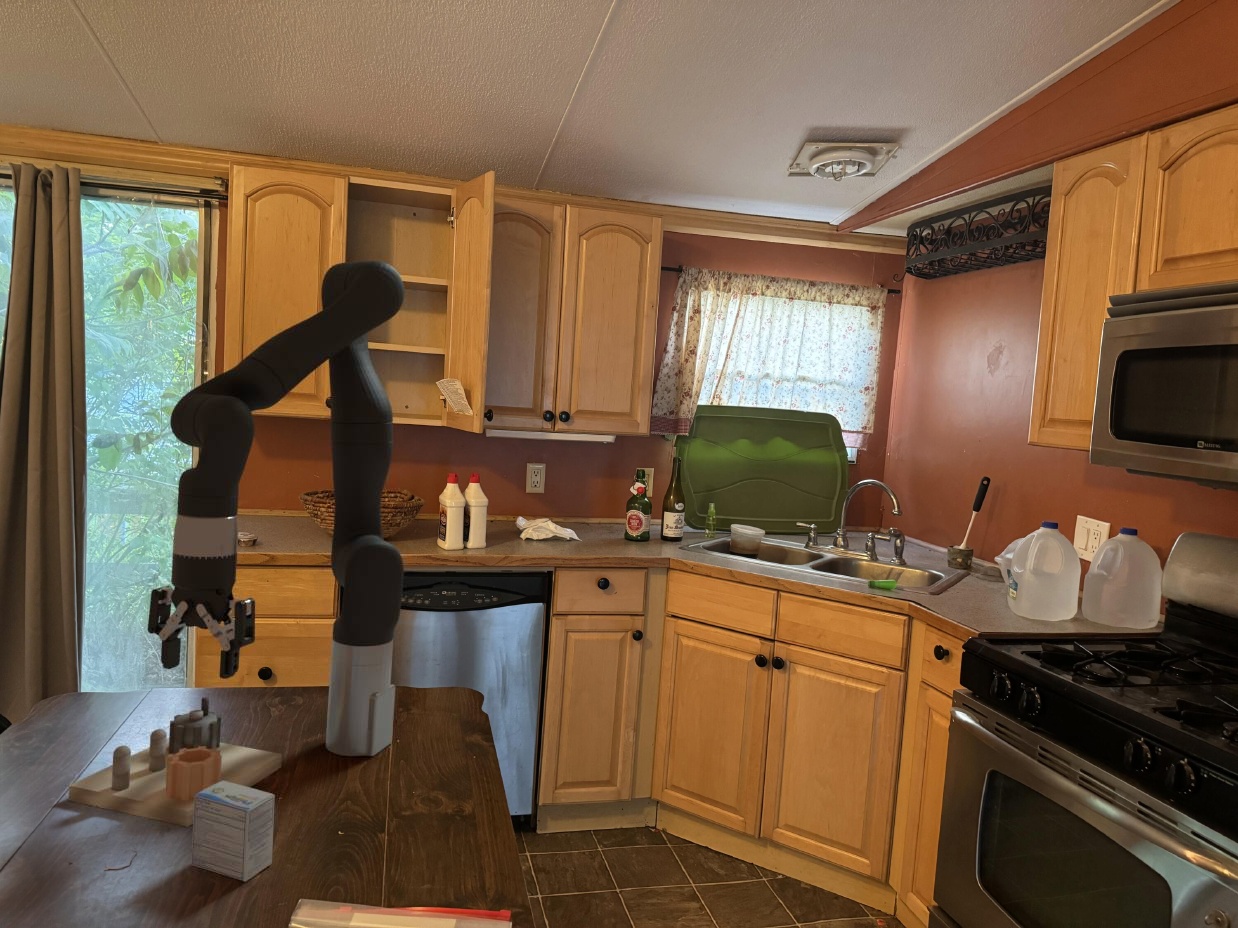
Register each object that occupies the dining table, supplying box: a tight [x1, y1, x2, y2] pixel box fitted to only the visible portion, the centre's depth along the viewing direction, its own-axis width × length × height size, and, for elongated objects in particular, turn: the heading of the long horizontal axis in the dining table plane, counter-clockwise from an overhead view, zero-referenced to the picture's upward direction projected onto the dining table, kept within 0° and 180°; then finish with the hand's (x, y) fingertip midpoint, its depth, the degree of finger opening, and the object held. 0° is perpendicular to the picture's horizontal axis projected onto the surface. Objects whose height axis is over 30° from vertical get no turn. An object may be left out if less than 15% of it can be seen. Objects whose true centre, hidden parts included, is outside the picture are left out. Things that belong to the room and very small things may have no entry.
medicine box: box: [190, 781, 276, 882], centre depth 98 cm, size 8×4×9 cm, turn 71°
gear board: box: [68, 696, 283, 827], centre depth 117 cm, size 18×19×9 cm
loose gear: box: [166, 746, 222, 801], centre depth 112 cm, size 6×6×4 cm
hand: (198, 672), depth 111 cm, fingers open, 8 cm apart
